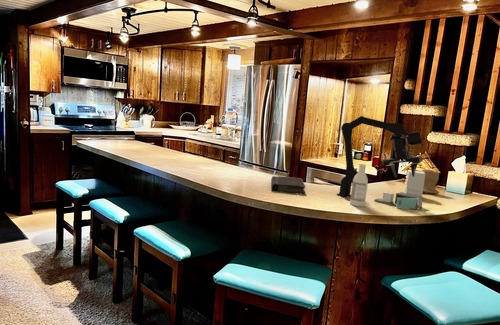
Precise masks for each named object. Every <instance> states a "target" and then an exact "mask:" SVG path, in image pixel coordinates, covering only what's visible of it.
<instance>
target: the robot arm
mask: <svg viewBox="0 0 500 325" xmlns="http://www.w3.org/2000/svg"><path fill="white" fill-rule="evenodd" d="M362 124H363V125H366V126H371V127H375V128H378V129H381V130H382V129H383V130H385V131H387V132H389V133H392V134H394V135H392V134H391V136H390V137H389V138H388V140H389V141H393V142H392V143H393V148H394V149H393V153H394V156H395V158H386V159H384V160H382V166H385V167H386V168H387V169H388V170H389V171H390V173H391V174H392V176H393V177H394V178H397V173H396V168H395V166H396V164H399V163H402V164H403V163H410V168H411V170H412V176H413V177H414V175H415V171H417V168H418V167H417V166H418V165H419V164H421V162H423V161H424V159H423V156H422V155H418V156H416V155H415V156H412V152H410V151H409V149H408V147H407V145H409V147H412V146H419V145H422V144H423V142H422V141H423V140H422V137H421V132H420V131H414V132H408V131H406V130H405V127H404V125H403V124H402V123H399V122H398V123H397V122H388V121H387V122H385V121H382V120H377V119H374V118H371V117H365V116H363V115H360V116H359V117H358V118H356V119H354V120H352V121H350V122H344V123H343V124H341V127H340V128H341V130H340V131H341V133H342V137H343V140H344V152H345V164H346V165H345V166H346V167H345V175H344V177H342V178H341V179H340V184H339V192H338V193H336V195H337V196H340V197H345V198H351V192H352V185H353V179H354V177H355V175H356V174H357V173H358V172H357V171H358V168H355V165H354V157H353V144H352V142H353V141H352V140H353V137H352V136H353V130H354V129H355V128H357V127H358V126H360V125H362ZM400 135H402V136H400Z"/></svg>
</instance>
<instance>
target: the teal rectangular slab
mask: <svg viewBox="0 0 500 325" xmlns="http://www.w3.org/2000/svg"><path fill="white" fill-rule="evenodd" d="M416 202H417V199H415V198H398V197H397V204H395V205H396V206H395V208H396V209H413V210H414V209H415V208H416ZM415 210H416V209H415Z"/></svg>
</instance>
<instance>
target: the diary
mask: <svg viewBox="0 0 500 325" xmlns="http://www.w3.org/2000/svg"><path fill="white" fill-rule="evenodd" d="M270 180H271V183H270V185H271V186H270V188H271V191H272V192H273V191H274V189H275V191H277V192H282V193H288V194H297V195H305V194H306V193H305V189H306V184H305V183H304V181H303V178H301V177H294V176H293V177H291V176H276V175H273V176H272V177H271V179H270Z"/></svg>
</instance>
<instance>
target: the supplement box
mask: <svg viewBox="0 0 500 325" xmlns="http://www.w3.org/2000/svg"><path fill="white" fill-rule="evenodd" d="M424 180H425V173H424V172H422V171H418V170H416V171H415V175H414V177H413V176H412V170H410V169H408V170H407V177H406V181H405V182H406V183H405V188H404V189H405V190H404V193H408V194H412V195H417V196H421V197H423V194H424V193H423V186H424Z"/></svg>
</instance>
